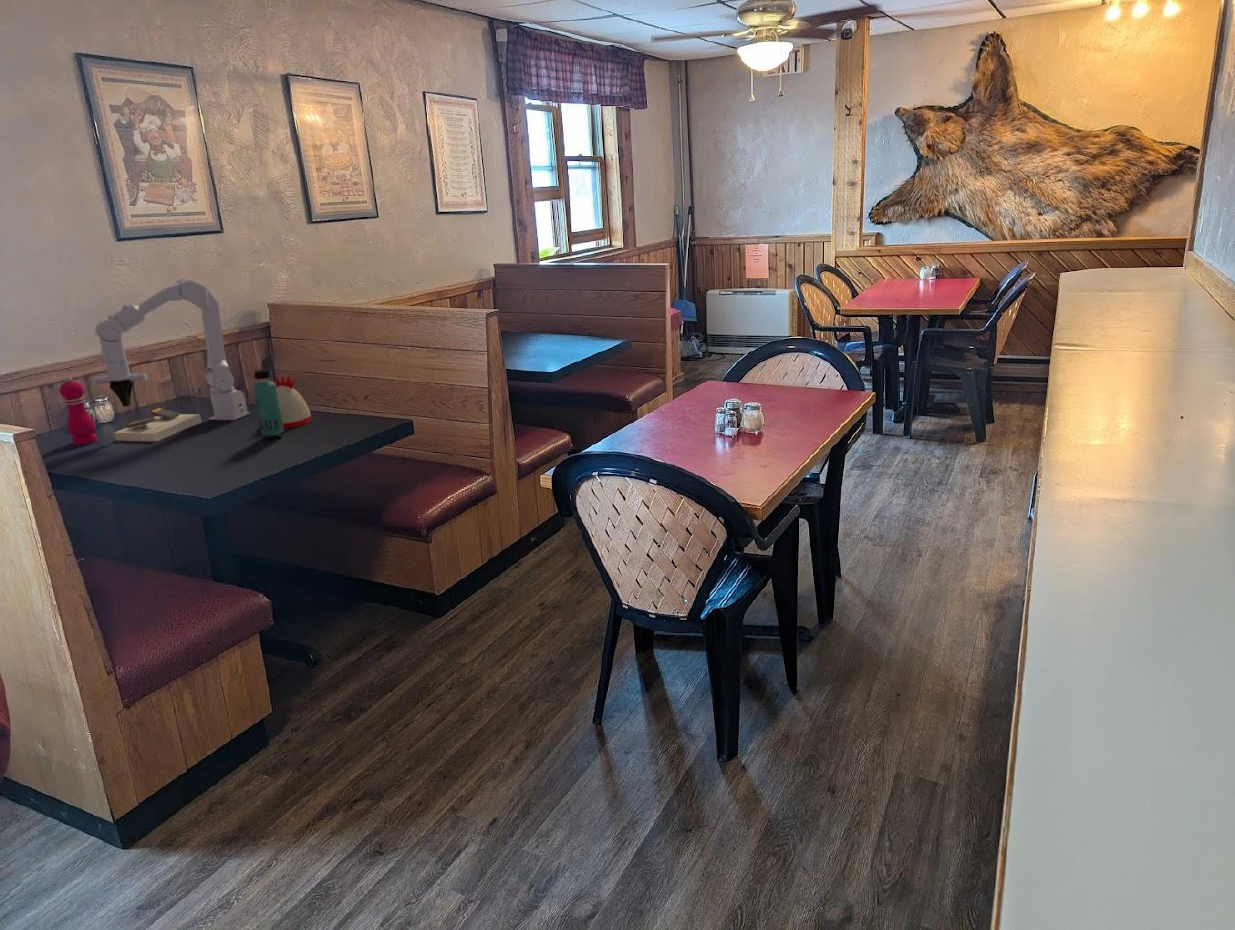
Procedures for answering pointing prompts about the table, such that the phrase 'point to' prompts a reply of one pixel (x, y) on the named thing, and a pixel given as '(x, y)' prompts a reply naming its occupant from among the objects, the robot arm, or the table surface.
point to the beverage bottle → (267, 404)
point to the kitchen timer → (291, 404)
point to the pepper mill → (78, 413)
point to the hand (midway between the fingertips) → (126, 405)
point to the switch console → (158, 428)
